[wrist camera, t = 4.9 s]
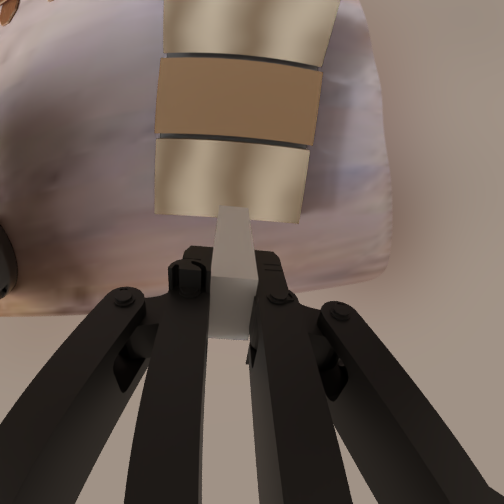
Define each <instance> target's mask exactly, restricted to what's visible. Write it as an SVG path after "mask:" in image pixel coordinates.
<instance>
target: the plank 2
mask: <svg viewBox="0 0 504 504" xmlns="http://www.w3.org/2000/svg"><path fill="white" fill-rule="evenodd" d="M309 155H310V151H309V150H306V149H302V148H295V147H288V146H280V145H272V144H263V143H253V142H242V141H230V140H215V139H194V138H158V139H156V154H155V214H167V215H186V216H203V217H218V211H219V205H223V206H234V207H244V208H248V210H249V217H250V220H260V221H273V222H285V223H296V224H299V219H300V213H301V207H302V201H303V195H304V188H305V182H306V175H307V169H308V162H309Z"/></svg>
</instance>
